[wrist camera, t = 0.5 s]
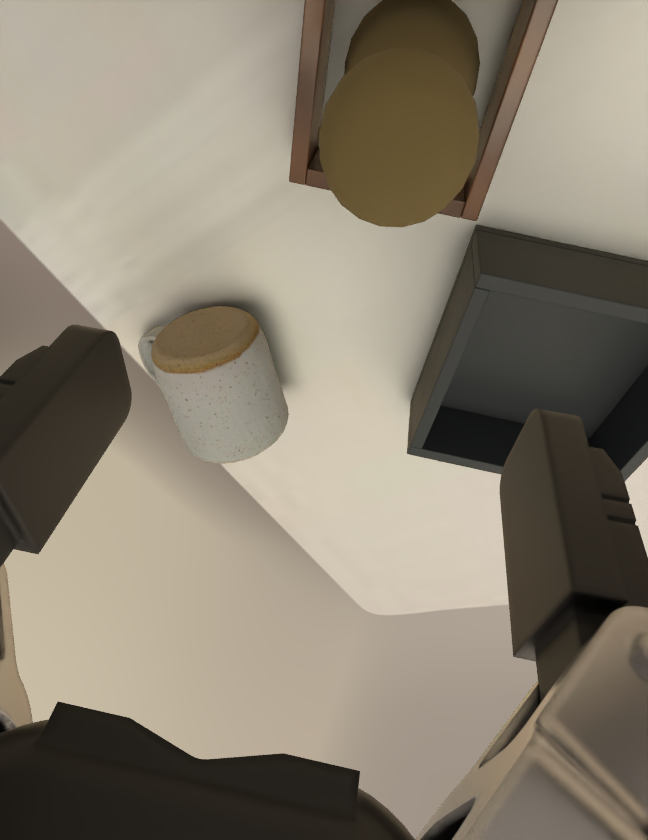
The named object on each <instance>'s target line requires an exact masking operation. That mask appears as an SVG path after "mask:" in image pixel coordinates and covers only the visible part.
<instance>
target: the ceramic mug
mask: <svg viewBox="0 0 648 840" xmlns="http://www.w3.org/2000/svg"><path fill="white" fill-rule="evenodd" d="M138 348H139V354H140V357H141V359H142V362H143V364H144V366H145V368H146V370H147V371H148V373H149V374H150V376H151V377H152V379H153V380H154V381H155V382H156V384H157V385H158V386H159V387H160V388H161V389H162V391H163V393H164V395H165V397H166V399H167V402H168V405H169V407H170V410H171V413H172V415H173V418H174V420H175V422H176V425H177V427H178V430H179V432H180V435H181V437H182V440H183V442H184V444H185V445H186V447H187V449H188V450H189V451H190V452H191V453H192V454H193V455H195V456H196V457H198V458H200V459H201V460H204V461H208V462H212V463H214V462H215V463H232V462H237V461H241V460H245V459H248V458H251V457H253V456H255V455H257V454H259V453H261V452H262V451H264V450H266V449H267V448H268V447H270V446H271V445H272V444H273V443H274V442H275V441H276V440H277V439H278V438H279V437H280V436H281V434H282V433H283V431H284V429H285V426H286V424H287V420H288V406H287V404H286V401H285V398H284V395H283V391H282V388H281V384H280V381H279V378H278V375H277V372H276V369H275V366H274V363H273V360H272V357H271V353H270V349H269V345H268V343H267V340H266V338H265V335H264V333H263V331H262V329H261V327H260V325H259V324H258V322H257V320H256V319H255V318H254V317H253V316H252V315H251V314H249V313H248V312H246V311H244V310H241V309H238V308H235V307H228V306H215V307H208V308H203V309H198V310H195V311H193V312H190V313H187V314H185V315H183V316H181V317H179V318H177V319H175V320H174V321H172V322H171V323H170V324H168V325H167V326H157V327H155V328H153V329H152V330H150V331H149V332H147V333H146V334H145V335H144V336H143V337H142V338H141V339H140V341H139V344H138Z"/></svg>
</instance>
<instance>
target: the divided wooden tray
mask: <svg viewBox="0 0 648 840" xmlns="http://www.w3.org/2000/svg"><path fill="white" fill-rule="evenodd" d="M557 2H558V0H523V2H522V6H521V9H520V12H519V15H518V18H517V21H516V24H515V27H514V30H513V33H512V36H511V39H510V42H509V45H508V48H507V51H506V54H505V57H504V60H503V63H502V66H501V69H500V72H499V75H498V78H497V81H496V84H495V87H494V90H493V93H492V96H491V99H490V102H489V105H488V108H487V111H486V114H485V117H484V120H483V123H482V126H481V129H480V137H479V143H478V149H477V155H476V161H475V164H474V166H473V168H472V170H471V172H470V174H469V176H468V178H467V180H466V182H465V184H464V186H463V188H462V189H461V191H460V192H459V193H458V194H457V195H456V196H455V198H454V199H453V200H452V201H451V202H450V203H449V204H448V205H447V206H446V207H445V209H443V210H442V211H440V212H439V214H444V215H449V216H454V217H458V218H460V217H461V218H464V219H469V220H473V221H476V220H477V219H478V216H479V213H480V211H481V208H482V205H483V203H484V200H485V197H486V194H487V192H488V189H489V186H490V184H491V181H492V178H493V175H494V173H495V170H496V167H497V165H498V162H499V159H500V157H501V154H502V151H503V148H504V146H505V143H506V140H507V138H508V135H509V132H510V130H511V127H512V124H513V121H514V119H515V116H516V113H517V111H518V108H519V105H520V102H521V100H522V97H523V94H524V92H525V89H526V86H527V84H528V81H529V78H530V75H531V73H532V70H533V67H534V65H535V62H536V59H537V57H538V54H539V51H540V48H541V46H542V43H543V40H544V38H545V35H546V32H547V29H548V27H549V24H550V21H551V19H552V16H553V13H554V11H555V8H556V5H557ZM334 8H335V0H305V5H304V17H303V28H302V39H301V51H300V62H299V74H298V85H297V96H296V108H295V119H294V131H293V142H292V153H291V165H290V176H289V181H290V182H293V183H298V184H303V185H305V184H306V185H308V186H312V187H317V188H322V189H326V190H331V189H330V188H329V186H328V183H327V180H326V177H325V174H324V171H323V168H322V165H321V162H320V149H319V147H318V139H319V129H320V123H321V115H322V106H323V98H324V90H325V82H326V74H327V65H328V57H329V49H330V41H331V33H332V24H333V16H334ZM317 147H318V148H317Z"/></svg>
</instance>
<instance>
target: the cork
mask: <svg viewBox="0 0 648 840" xmlns="http://www.w3.org/2000/svg"><path fill="white" fill-rule="evenodd" d="M479 65H480V60H479V52H478V44H477V37H476V35H475V33H474V31H473V29H472V26H471V24H470V22H469V20H468V18H467V16H466V14H465V13H464V12H463V11H462V10H461V9H460V8H459V7H458V6H457V5H456V4H455V3H454V2H453V1H452V0H382V1H381V2H380V3H379V4H378V5H377V6H376V7H375V8H373V9H372V10H371V11H370V12H369V13H368V14H367V15H366V16H365V17H364V18H363V20H362V22H361V23H360V25H359V27H358V29H357V30H356V32H355V34H354V35H353V37H352V39H351V43H350V46H349V50H348V54H347V58H346V61H345V75H344V76H343V78H342V79H341V81H340V83H339V84H338V86H337V88H336V89H335V91H334V92H333V94H332V96H331V97H330V99H329V101H328V102H327V104H326V106H325V110H324V114H323V118H322V122H321V126H320V129H319V149H320V162H321V165H322V168H323V171H324V174H325V177H326V180H327V183H328V186H329V188H330V189H331V191H332V192H333V193H334V195H335V196H336V198H337V199H338V201H339V202H340V203H341V205H342V206H344V207H345V208H346V209H347V210H349V211H350V212H351V213H353V214H354V215H355V216H357V217H358V218H359V219H362V220H364V221H367V222H370V223H373V224H375V225H378V226H386V227H405V226H408V225H412V224H416V223H420V222H424V221H425V220H427V219H429V218H430V217H432V216H434V215H435V214H437V213H439V212H440V211H442V210H443V209H445V207H446V206H447V205H448V204H449V203H450V202H451V201H452V200H453V199H454V198H455V196H456V195H457V194H458V193H459V192H460V191H461V189H462V188H463V186H464V184H465V182H466V180H467V178H468V176H469V174H470V172H471V170H472V168H473V166H474V164H475V161H476V155H477V149H478V143H479V137H480V132H479V125H478V117H477V110H476V104H475V100H474V98H473V95H474V92H475V89H476V84H477V78H478V71H479Z"/></svg>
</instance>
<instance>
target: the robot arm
mask: <svg viewBox="0 0 648 840" xmlns="http://www.w3.org/2000/svg"><path fill="white" fill-rule="evenodd" d="M130 406H131V388H130V384H129V380H128V375H127V372H126V367H125V363H124V359H123V355H122V351H121V347H120V343H119V339H118V337H117V335H116V334H115V333H114V332H112V331H108V330H103V329H97V328H91V327H86V326H80V325H71V326H69V327H67V328H66V329H65V330H64V331H63V332H62V333H61V335H60V336H59V337H58V338H57V339H56V340H55V341H54V342H53V343H52V344H51V345H50V346H49V347H48V346H41V347H39V348H38V349H36V350H34V351H32V352H30V353H28V354H27V355H25V356H23V357H21V358H19V359H18V360H16V361H15V362H14V363H13V364H12V365H11V366H10V367H9V368H8V369H7V370H6V372H4V373H3V375H2V376H0V840H648V557H647V554H646V551H645V548H644V544H643V541H642V538H641V535H640V531H639V528H638V526H636V525H635V522H636V518H635V515H634V512H633V508H632V505H631V504H629V495H628V492H627V489H626V485H625V482H624V479H623V476H622V473H621V472H620V470H619V469H618V468H617V466H616V465H615V464H614V463H613V461H612V460H611V459H610V457H609V456H608V455H607V453H606V452H605V451H604V450H603V449H600V448H594V447H589V446H588V442H587V438H586V434H585V430H584V426H583V423H582V420H581V418H580V417H579V416H577V415H571V414H566V413H560V412H554V411H549V410H543V409H538V408H536V409H534V410H533V411H532V412H531V413H530V415H529V416H528V418H527V420H526V422H525V424H524V426H523V428H522V430H521V432H520V434H519V436H518V438H517V440H516V442H515V444H514V446H513V448H512V450H511V452H510V454H509V456H508V457H507V459H506V462H505V464H504V467H503V470H502V475H501V481H500V501H501V513H502V525H503V537H504V549H505V561H506V573H507V585H508V597H509V609H510V621H511V633H512V645H513V656H514V657H517V658H522V659H527V660H531V661H536V665H537V674H538V681H537V682H536V683H535V684H534V685H533V687H532V688H531V689H530V691H529V692H528V693H527V695H526V696H525V697H524V699H523V700H522V702H521V703H520V704H519V706H518V707H517V708H516V710H515V711H514V713H513V714H512V715H511V716H510V718H509V719H508V721H507V722H506V723H505V725H504V726H503V727H502V729H501V730H500V732H499V733H498V734H497V735H496V737H495V738H494V740H493V741H492V742H491V743H490V745H489V746H488V748H487V749H486V750H485V752H484V753H483V754H482V756H481V757H480V758H479V760H478V761H477V763H476V764H475V765H474V766H473V768H472V769H471V770H470V772H469V773H468V774H467V775H466V776H465V777H464V779H463V780H462V781H461V782H460V783H459V784H458V785H457V786H456V787H455V789H454V790H453V791H452V792H451V793H450V794H449V796H448V797H447V798H446V799H445V801H444V802H443V803H442V804H441V806H440V807H439V808H438V809H437V811H436V812H435V813H434V815H433V816H432V817H431V819H430V820H429V822H428V823H427V824H426V825H425V827H424V828H423V829H422V831H421V832H420V834H419V835H418V836H417V838H416V839H414V838H413V836H412V835H411V834H410V833H409V831H408V830H407V829H406V828H405V826H404V825H403V824H402V823H401V822H400V821H399V820H398V819H397V818H396V817H395V816H394V815H393V814H392V813H391V812H390V811H389V810H388V809H387V808H386V807H385V806H383V805H382V804H381V803H380V802H378V801H377V800H376V799H375V798H373V797H372V796H371V795H369V794H367V793H366V792H364V791H362V790H361V789H359V788H358V784H359V775H360V771H357V770H352V769H348V768H344V767H339V766H335V765H331V764H327V763H322V762H318V761H313V760H309V759H305V758H301V757H296V756H292V755H288V754H272V755H259V756H246V757H234V758H221V759H209V760H207V759H205V760H204V759H198V758H195V757H193V756H191V755H189V754H187V753H186V752H184V751H183V750H181V749H179V748H178V747H176V746H174V745H173V744H171V743H169V742H168V741H166V740H165V739H163V738H161V737H160V736H158V735H157V734H155V733H153V732H152V731H150V730H148V729H147V728H145V727H143V726H142V725H140V724H139V723H137V722H135V721H134V720H132V719H130V718H127V717H123V716H118V715H114V714H110V713H105V712H101V711H96V710H92V709H88V708H83V707H79V706H75V705H70V704H66V703H61V702H58V703H57V704H56V706H55V708H54V711H53V712H52V715H51V716H50V718H49V720H44V721H39V722H35V723H33V721H32V714H31V708H30V704H29V700H28V696H27V694H26V690H25V688H24V685H23V683H22V681H21V679H20V676H19V673H18V669H17V664H16V657H15V648H14V638H13V629H12V618H11V608H10V600H9V599H10V598H9V588H8V578H7V571H6V568H5V565H4V564H3V563H4V562H5V560H6V559H7V557H8V556H9V554H10V553H11V552H12V550H13V549H16V550H21V551H26V552H30V553H35V554H39V552H40V551H41V549H42V548H43V546H44V545H45V543H46V542H47V540H48V539H49V537H50V535H51V534H52V532H53V531H54V529H55V528H56V526H57V525H58V523H59V522H60V520H61V519H62V517H63V516H64V514H65V512H66V511H67V509H68V508H69V506H70V505H71V503H72V502H73V500H74V498H75V497H76V496H77V494H78V492H79V491H80V489H81V488H82V486H83V485H84V483H85V482H86V480H87V479H88V477H89V475H90V474H91V472H92V471H93V469H94V468H95V466H96V465H97V463H98V462H99V460H100V459H101V457H102V455H103V454H104V452H105V451H106V449H107V448H108V446H109V445H110V443H111V442H112V440H113V439H114V437H115V435H116V434H117V432H118V431H119V429H120V428H121V426H122V425H123V423H124V422H125V420H126V418H127V416H128V413H129V410H130Z"/></svg>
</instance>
